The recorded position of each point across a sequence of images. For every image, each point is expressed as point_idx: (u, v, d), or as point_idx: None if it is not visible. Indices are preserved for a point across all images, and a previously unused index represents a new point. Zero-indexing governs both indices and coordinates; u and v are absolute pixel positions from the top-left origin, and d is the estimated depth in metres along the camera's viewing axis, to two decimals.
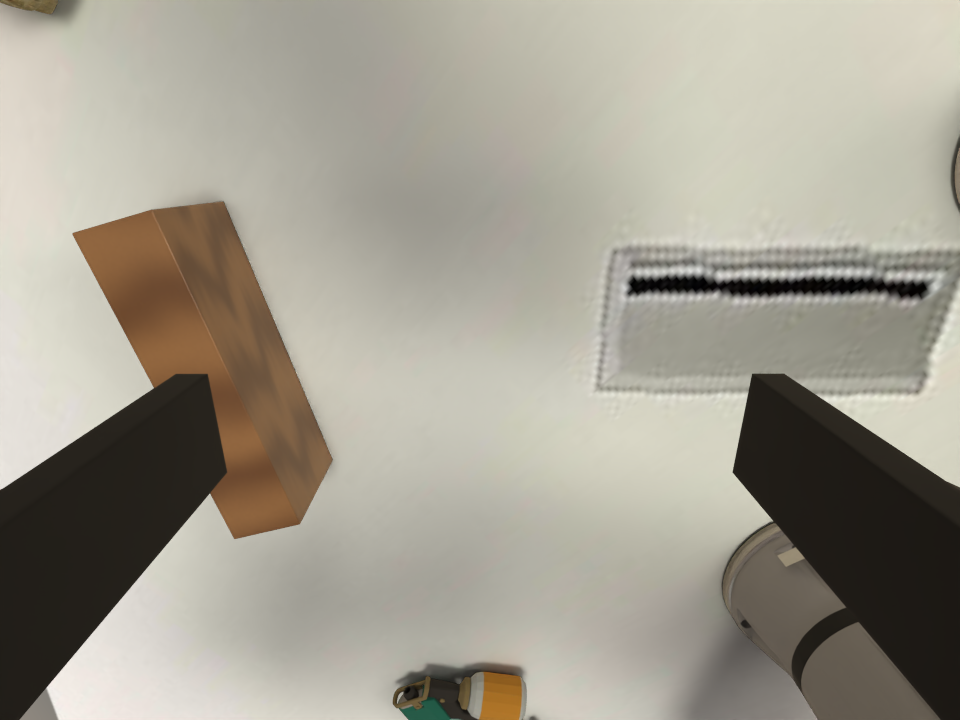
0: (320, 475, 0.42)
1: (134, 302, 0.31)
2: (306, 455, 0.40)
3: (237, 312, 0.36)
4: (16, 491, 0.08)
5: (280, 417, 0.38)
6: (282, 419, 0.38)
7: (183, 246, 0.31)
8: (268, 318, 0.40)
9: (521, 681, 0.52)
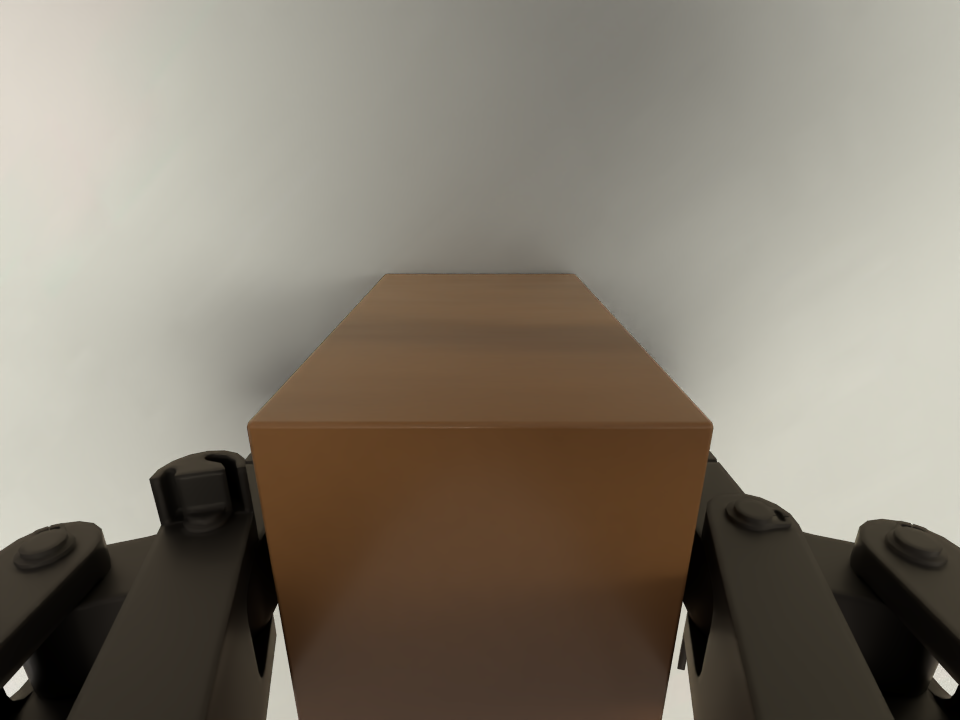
0: None
1: None
2: None
3: None
4: None
5: None
6: None
7: None
8: None
9: None
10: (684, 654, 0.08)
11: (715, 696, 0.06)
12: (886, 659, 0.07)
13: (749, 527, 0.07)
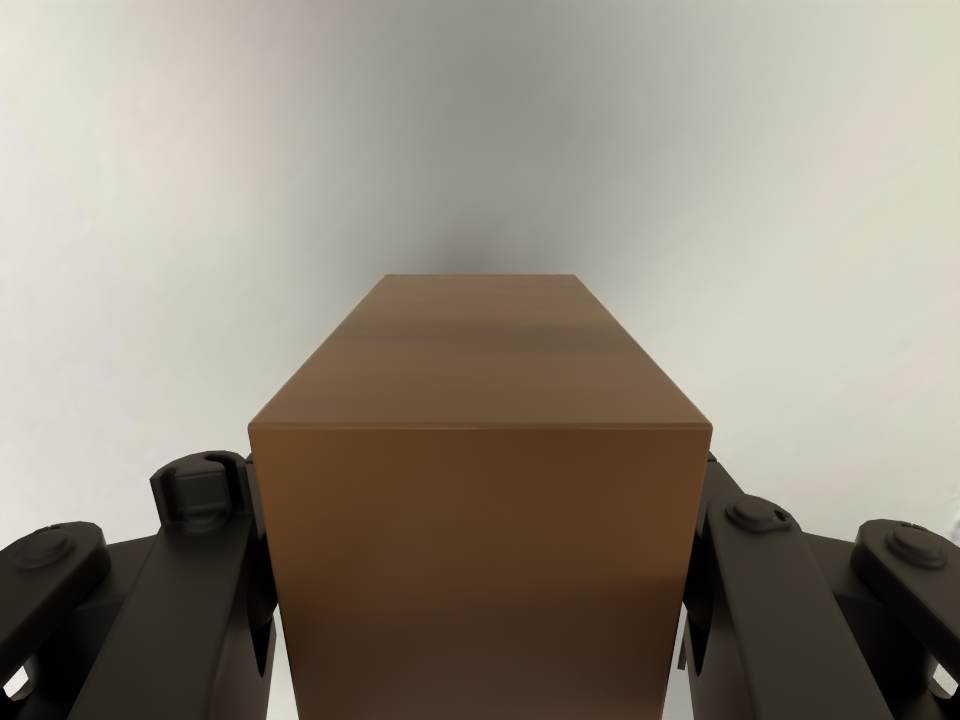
0: None
1: None
2: None
3: None
4: None
5: None
6: None
7: None
8: None
9: None
10: (684, 654, 0.08)
11: (715, 696, 0.06)
12: (886, 659, 0.07)
13: (749, 527, 0.07)
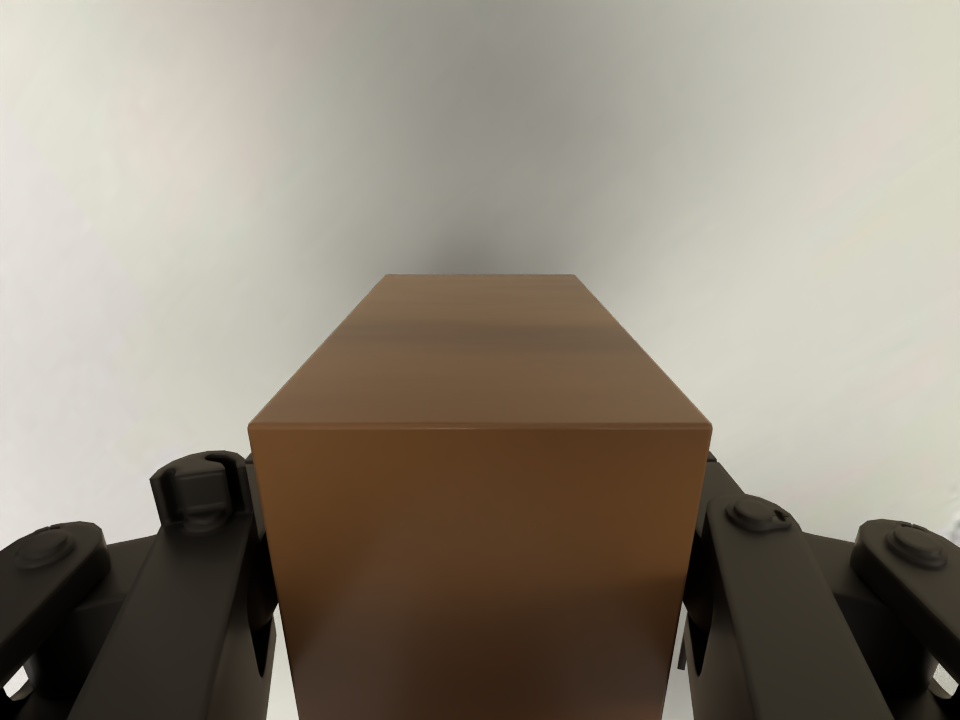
0: None
1: None
2: None
3: None
4: None
5: None
6: None
7: None
8: None
9: None
10: (684, 654, 0.08)
11: (715, 696, 0.06)
12: (887, 659, 0.07)
13: (749, 527, 0.07)
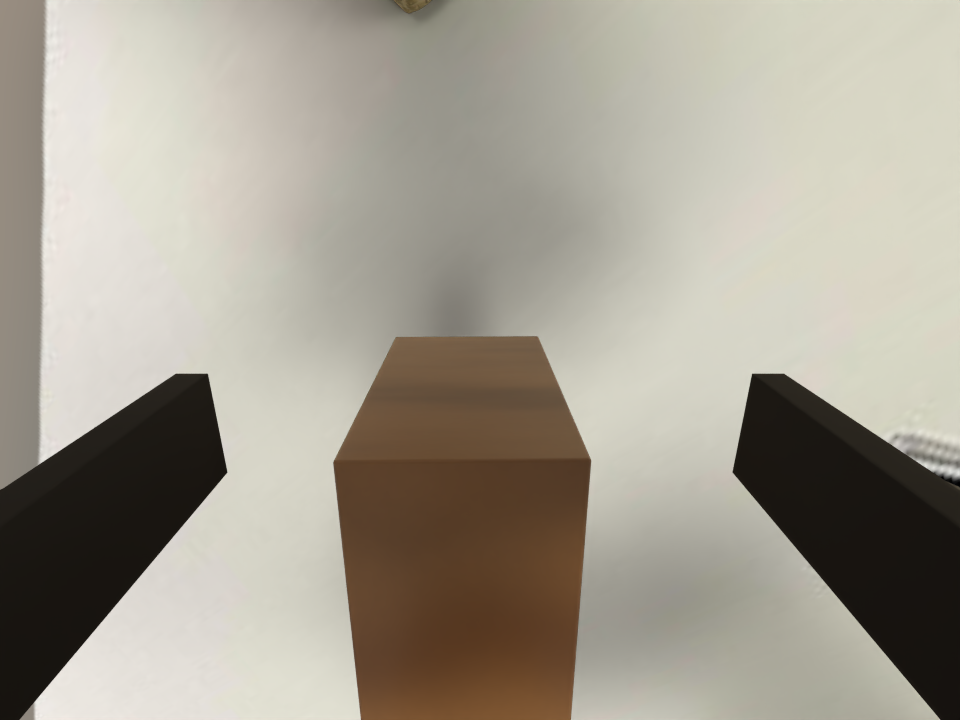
0: None
1: (419, 642, 0.12)
2: None
3: None
4: (17, 491, 0.08)
5: None
6: None
7: None
8: None
9: None
10: None
11: None
12: None
13: None
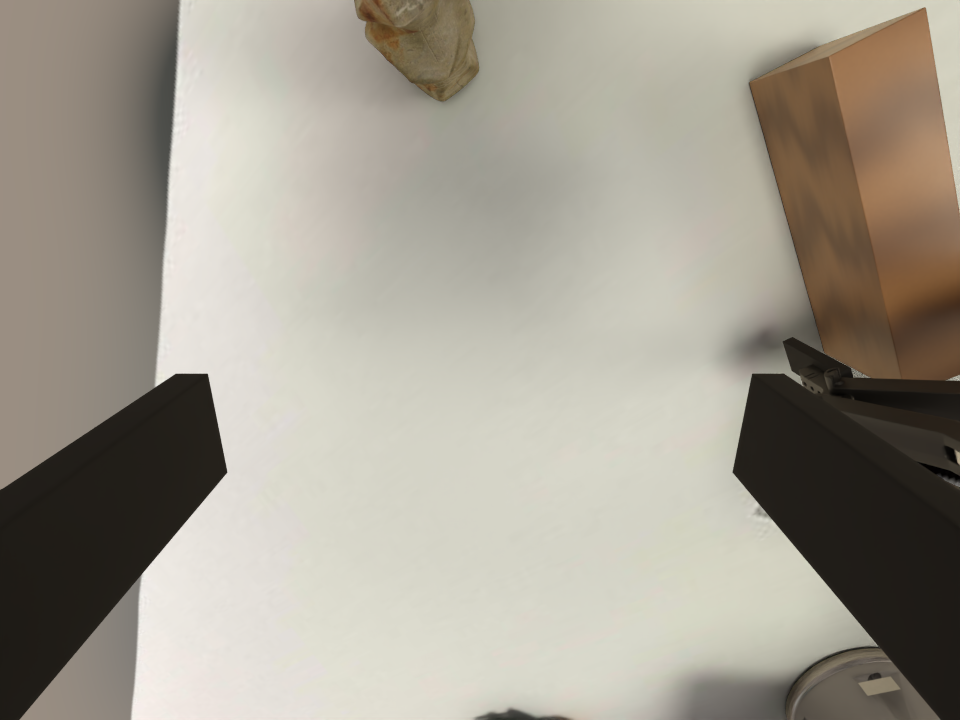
0: None
1: (874, 127, 0.29)
2: None
3: None
4: (17, 491, 0.08)
5: None
6: None
7: None
8: None
9: None
10: None
11: None
12: None
13: None
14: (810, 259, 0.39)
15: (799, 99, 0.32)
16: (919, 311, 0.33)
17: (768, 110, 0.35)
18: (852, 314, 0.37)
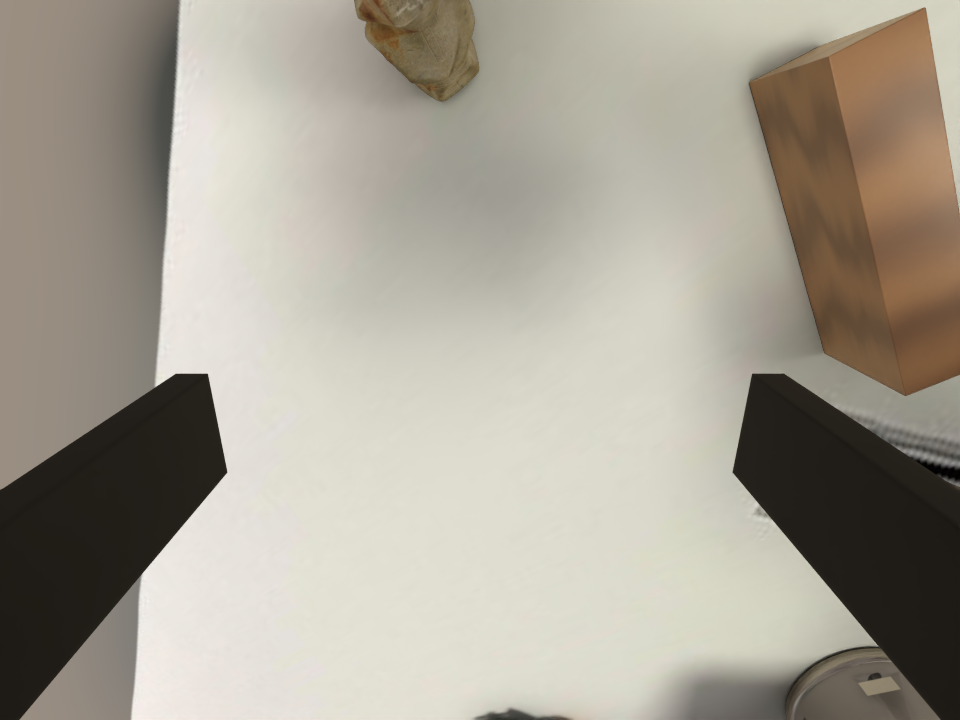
0: None
1: (874, 127, 0.29)
2: None
3: None
4: (17, 491, 0.08)
5: None
6: None
7: None
8: None
9: None
10: None
11: None
12: None
13: None
14: (810, 259, 0.39)
15: (799, 99, 0.32)
16: (919, 311, 0.33)
17: (768, 110, 0.35)
18: (852, 314, 0.37)
